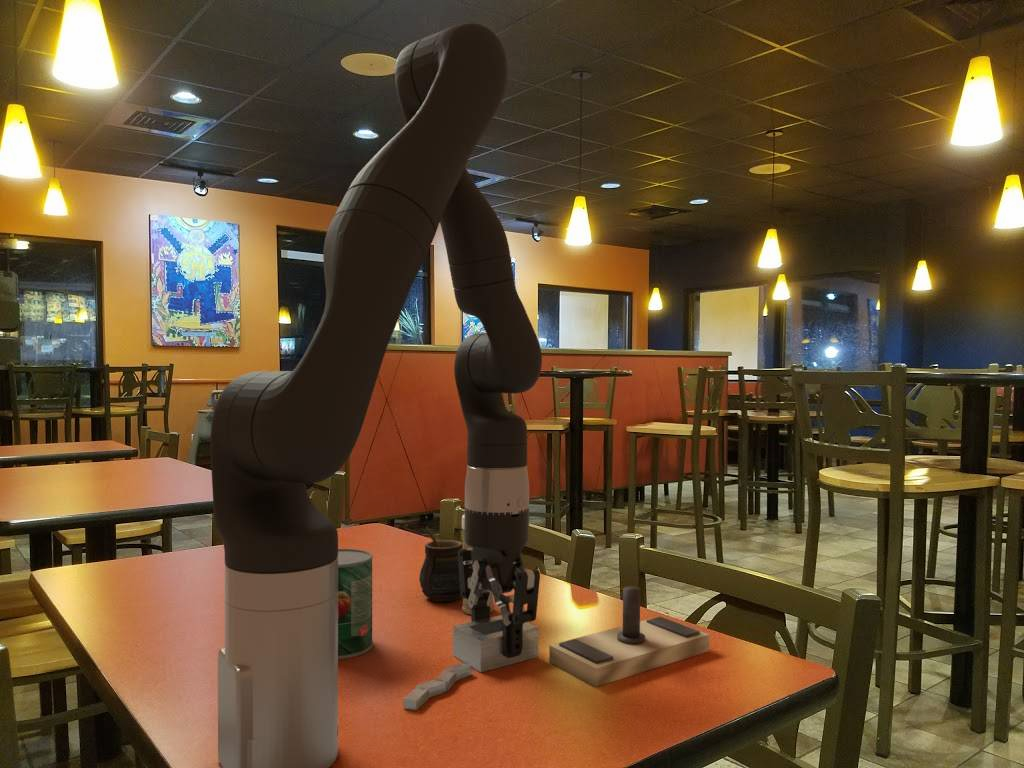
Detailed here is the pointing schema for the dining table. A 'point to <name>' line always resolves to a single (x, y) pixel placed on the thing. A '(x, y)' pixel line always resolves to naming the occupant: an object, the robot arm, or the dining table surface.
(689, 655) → the beige holder base
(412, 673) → the dining table surface
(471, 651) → the link
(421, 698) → the slack chain
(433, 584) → the mate gourd
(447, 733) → the dining table surface
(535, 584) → the robot arm
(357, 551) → the canned tomato
